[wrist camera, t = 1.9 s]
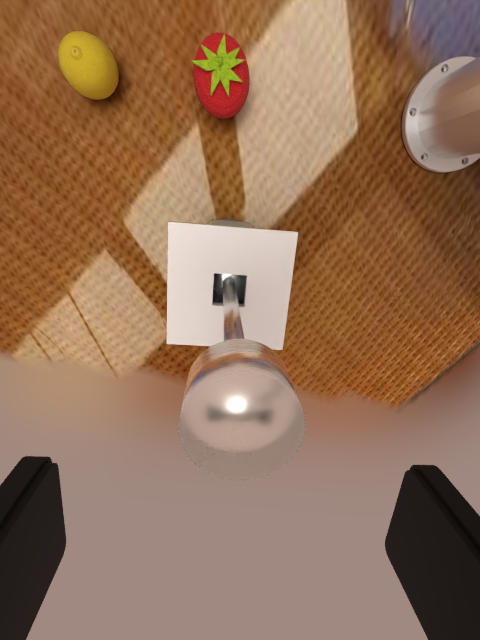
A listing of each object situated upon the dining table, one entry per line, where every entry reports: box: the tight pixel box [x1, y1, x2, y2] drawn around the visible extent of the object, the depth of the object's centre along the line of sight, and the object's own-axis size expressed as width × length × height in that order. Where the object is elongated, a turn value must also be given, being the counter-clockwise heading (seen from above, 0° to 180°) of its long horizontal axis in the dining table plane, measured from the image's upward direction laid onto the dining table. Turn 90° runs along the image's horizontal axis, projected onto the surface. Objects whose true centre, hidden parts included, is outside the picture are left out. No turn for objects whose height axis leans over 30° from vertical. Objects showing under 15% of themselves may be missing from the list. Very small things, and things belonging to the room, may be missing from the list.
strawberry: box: [191, 33, 249, 119], centre depth 36 cm, size 6×8×10 cm
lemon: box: [58, 31, 119, 100], centre depth 36 cm, size 6×6×8 cm
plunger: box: [179, 273, 305, 480], centre depth 23 cm, size 8×8×24 cm
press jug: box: [167, 219, 298, 350], centre depth 39 cm, size 14×11×17 cm
